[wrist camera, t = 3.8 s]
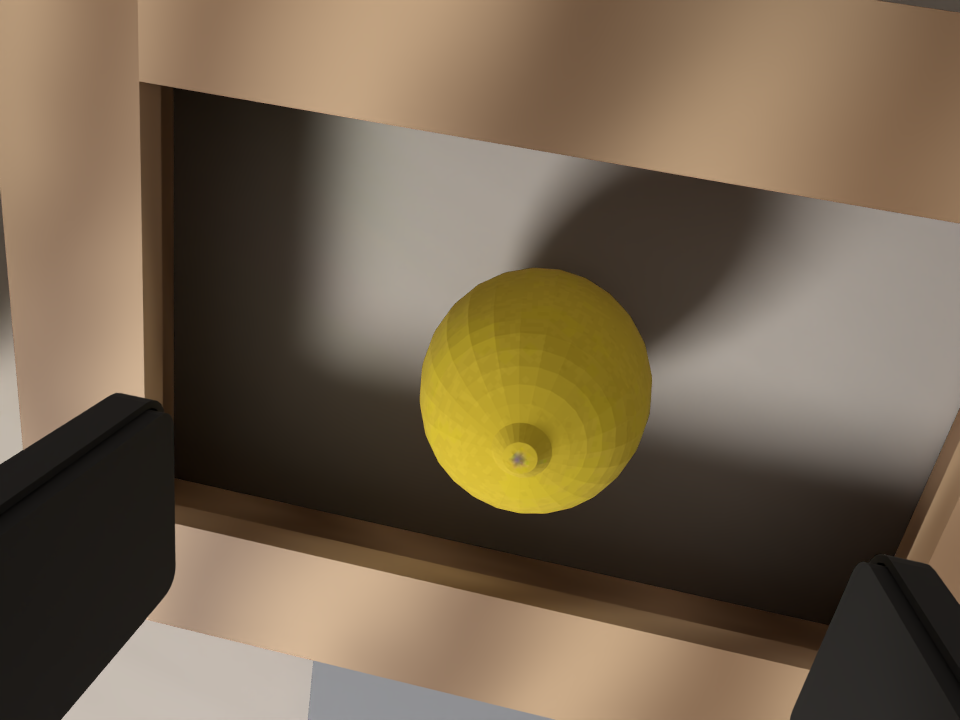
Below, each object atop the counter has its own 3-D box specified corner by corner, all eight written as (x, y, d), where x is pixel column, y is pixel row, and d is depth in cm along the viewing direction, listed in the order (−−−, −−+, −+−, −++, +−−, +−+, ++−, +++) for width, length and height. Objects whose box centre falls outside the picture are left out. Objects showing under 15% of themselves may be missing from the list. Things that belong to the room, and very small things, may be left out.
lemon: (484, 217, 20) (420, 281, 13) (670, 278, 20) (716, 380, 12) (433, 386, 22) (352, 528, 15) (601, 443, 22) (606, 616, 14)
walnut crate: (1159, 86, 17) (1392, 76, 12) (885, 669, 23) (963, 819, 18) (131, -72, 19) (-28, -134, 14) (142, 499, 25) (35, 592, 20)
